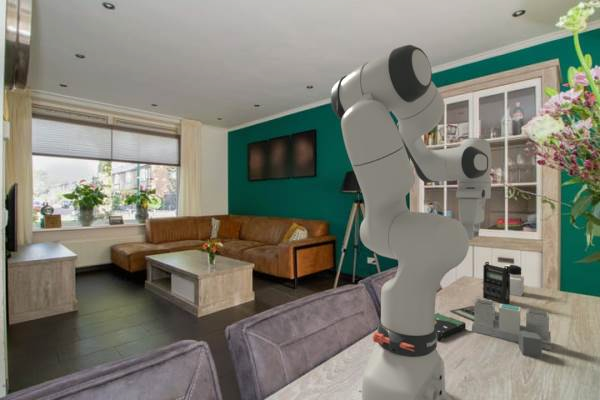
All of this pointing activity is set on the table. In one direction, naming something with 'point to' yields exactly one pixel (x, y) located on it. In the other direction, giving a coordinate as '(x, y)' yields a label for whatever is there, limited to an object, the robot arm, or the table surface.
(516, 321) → the block
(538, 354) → the block
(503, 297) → the geiger counter
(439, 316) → the disk drive
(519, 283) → the medicine bottle
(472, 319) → the calculator
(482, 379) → the table surface
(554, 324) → the table surface
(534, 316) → the rail
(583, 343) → the table surface
